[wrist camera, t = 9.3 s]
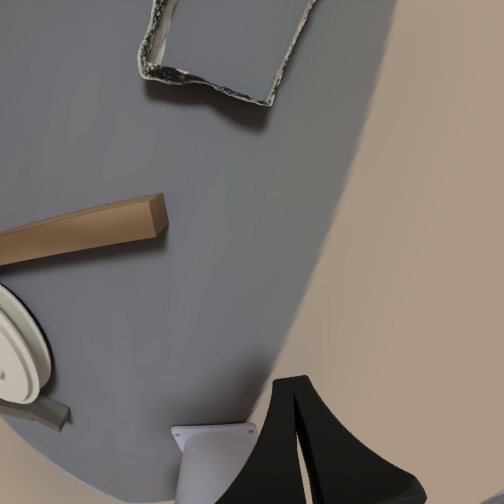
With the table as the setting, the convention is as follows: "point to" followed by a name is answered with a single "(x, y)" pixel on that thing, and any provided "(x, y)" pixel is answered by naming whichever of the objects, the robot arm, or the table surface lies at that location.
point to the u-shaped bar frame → (72, 239)
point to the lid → (20, 352)
